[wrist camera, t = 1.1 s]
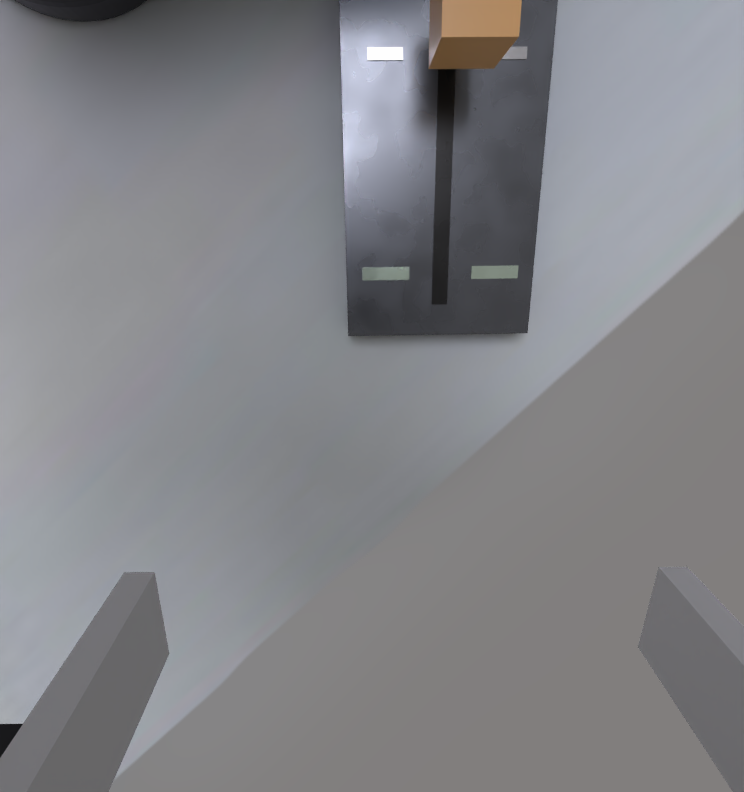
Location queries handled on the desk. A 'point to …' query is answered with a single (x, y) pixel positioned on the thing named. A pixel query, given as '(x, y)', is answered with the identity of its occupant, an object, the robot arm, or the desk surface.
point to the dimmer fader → (472, 32)
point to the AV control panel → (440, 174)
